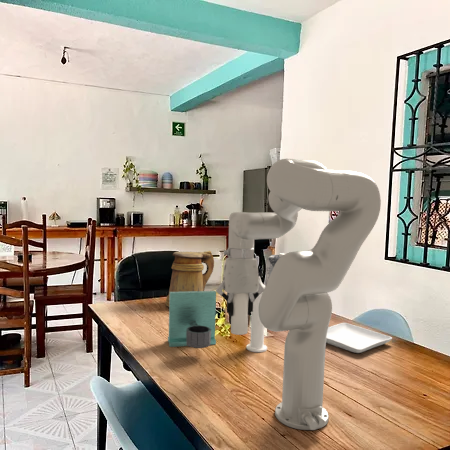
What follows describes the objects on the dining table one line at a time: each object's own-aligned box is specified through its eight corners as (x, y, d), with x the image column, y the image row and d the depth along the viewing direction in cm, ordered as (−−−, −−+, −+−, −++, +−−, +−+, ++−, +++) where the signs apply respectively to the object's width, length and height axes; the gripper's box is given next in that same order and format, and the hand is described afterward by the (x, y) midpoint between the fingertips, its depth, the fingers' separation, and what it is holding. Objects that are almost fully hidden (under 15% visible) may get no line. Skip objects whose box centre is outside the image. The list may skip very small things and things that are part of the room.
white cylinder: (249, 334, 129) (250, 287, 128) (233, 335, 128) (234, 287, 127) (244, 329, 134) (246, 283, 133) (229, 330, 132) (230, 284, 132)
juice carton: (263, 316, 188) (265, 254, 186) (268, 310, 198) (270, 250, 196) (283, 318, 185) (286, 255, 183) (287, 312, 195) (290, 252, 193)
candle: (266, 353, 145) (269, 279, 143) (244, 351, 146) (247, 277, 144) (268, 346, 152) (271, 275, 150) (248, 344, 153) (250, 273, 151)
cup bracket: (225, 359, 138) (226, 303, 137) (174, 362, 135) (175, 305, 133) (212, 338, 158) (213, 289, 156) (167, 340, 154) (168, 290, 152)
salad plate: (359, 359, 144) (360, 348, 143) (308, 340, 160) (309, 331, 160) (393, 346, 157) (394, 336, 157) (343, 330, 173) (344, 321, 173)
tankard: (158, 303, 203) (159, 250, 201) (202, 297, 217) (203, 247, 215) (177, 313, 189) (178, 255, 187) (222, 306, 202) (224, 252, 200)
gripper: (215, 256, 123) (214, 319, 125) (272, 255, 127) (270, 316, 129) (210, 252, 131) (209, 312, 132) (264, 252, 135) (262, 310, 136)
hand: (239, 314), depth 130 cm, fingers closed on white cylinder, 5 cm apart
